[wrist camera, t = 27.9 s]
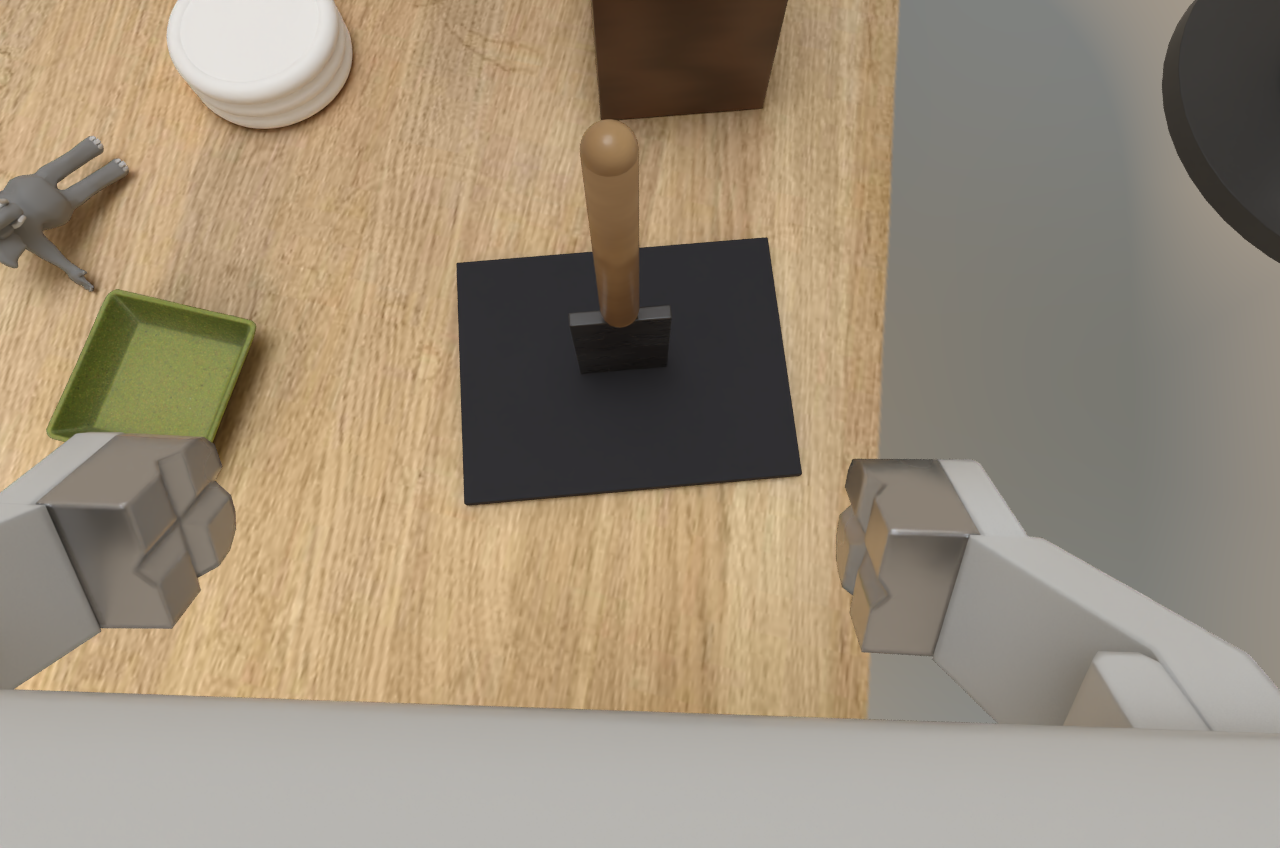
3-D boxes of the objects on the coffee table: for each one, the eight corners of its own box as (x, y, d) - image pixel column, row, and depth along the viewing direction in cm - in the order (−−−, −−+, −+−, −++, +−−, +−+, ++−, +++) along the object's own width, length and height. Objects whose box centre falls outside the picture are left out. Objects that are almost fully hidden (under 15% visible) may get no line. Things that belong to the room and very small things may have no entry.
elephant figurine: (195, 210, 46) (68, 306, 41) (165, 237, 50) (47, 328, 45) (42, 57, 42) (-122, 145, 37) (23, 101, 46) (-126, 185, 41)
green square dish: (69, 445, 42) (40, 436, 40) (132, 301, 45) (108, 286, 43) (218, 482, 42) (197, 474, 40) (275, 335, 44) (258, 321, 42)
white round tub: (169, 42, 49) (134, -1, 46) (312, -27, 50) (288, -74, 47) (236, 160, 47) (205, 123, 44) (383, 84, 48) (363, 43, 45)
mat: (765, 241, 46) (767, 236, 45) (799, 475, 42) (801, 473, 41) (458, 267, 45) (456, 262, 45) (466, 505, 42) (464, 504, 41)
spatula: (664, 345, 43) (685, 99, 23) (668, 376, 43) (692, 152, 23) (579, 352, 43) (525, 112, 23) (581, 383, 43) (528, 165, 23)
